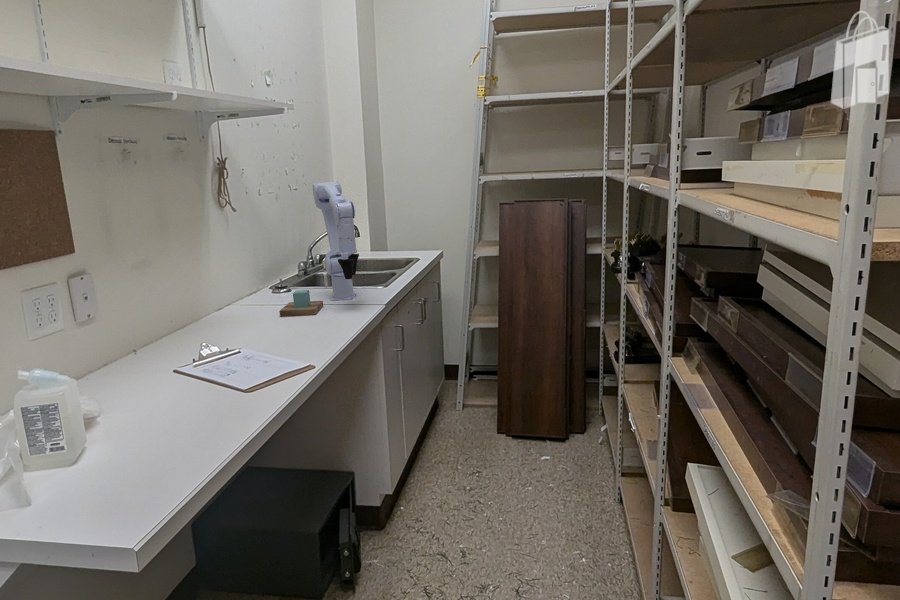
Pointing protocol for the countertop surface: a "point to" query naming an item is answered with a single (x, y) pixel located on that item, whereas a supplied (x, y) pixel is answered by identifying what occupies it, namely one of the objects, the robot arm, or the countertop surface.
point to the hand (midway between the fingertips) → (350, 276)
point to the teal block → (301, 298)
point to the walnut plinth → (301, 309)
